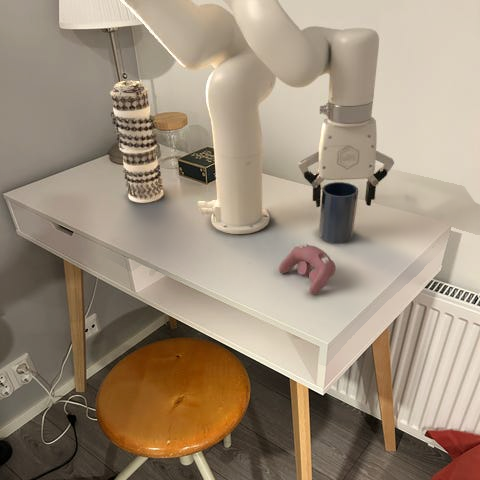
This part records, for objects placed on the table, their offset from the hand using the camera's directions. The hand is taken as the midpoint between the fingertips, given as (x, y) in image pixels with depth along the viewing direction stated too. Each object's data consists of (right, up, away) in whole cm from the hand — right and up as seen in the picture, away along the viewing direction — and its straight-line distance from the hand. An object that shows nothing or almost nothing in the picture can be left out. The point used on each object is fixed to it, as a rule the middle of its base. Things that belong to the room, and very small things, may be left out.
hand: (342, 203), depth 95 cm
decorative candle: (-43, +7, +23) cm, 49 cm away
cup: (-1, -5, +5) cm, 7 cm away
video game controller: (-8, -16, -7) cm, 19 cm away
